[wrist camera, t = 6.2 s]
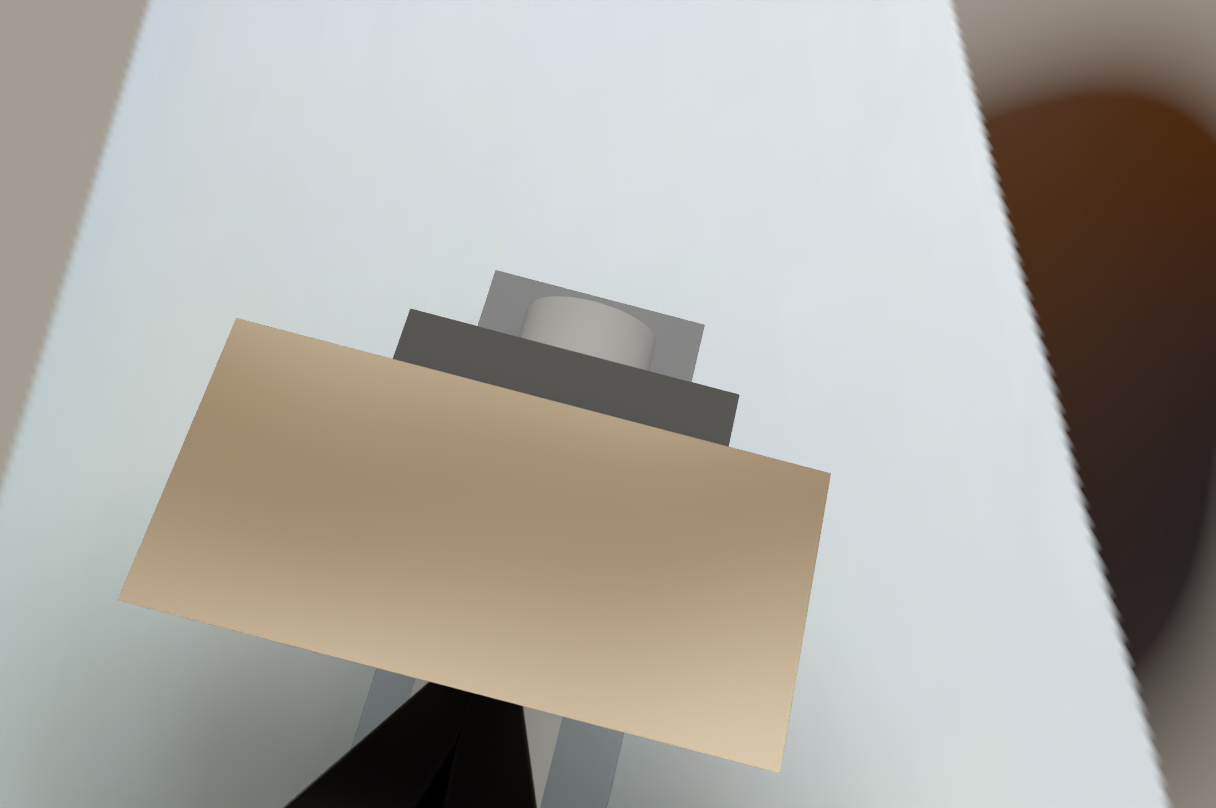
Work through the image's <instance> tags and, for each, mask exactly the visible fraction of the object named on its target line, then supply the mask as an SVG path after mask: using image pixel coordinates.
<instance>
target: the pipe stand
mask: <svg viewBox="0 0 1216 808" xmlns="http://www.w3.org/2000/svg"><path fill="white" fill-rule="evenodd" d="M478 326H479V327H483V328H486V329H490V330H494V331H498V332H502V333H505V334H509V335H513V336H517V337H521V338H525V339H528V340H532V341H536V342H540V343H544V344H548V345H551V346H555V347H559V348H563V349H567V350H570V351H574V352H578V353H582V354H586V355H590V356H593V357H597V358H601V359H605V360H609V361H613V362H616V363H620V364H624V365H628V366H632V367H635V368H639V369H643V370H647V371H651V372H655V373H658V374H662V375H666V376H670V377H674V378H678V379H681V380H685V381H689V382H692V377H693V373H694V369H695V364H696V360H697V356H698V351H699V347H700V343H701V338H702V334H703V330H704V325H703V324H699V323H696V322H692V321H688V320H684V319H680V318H676V317H673V316H669V315H665V314H661V313H657V312H654V311H650V310H646V309H642V308H638V307H634V306H631V305H627V304H623V303H619V302H615V301H611V300H608V299H604V298H600V297H596V296H592V295H589V294H585V293H581V292H577V291H573V290H569V289H566V288H562V287H558V286H554V285H550V284H547V283H543V282H539V281H535V280H531V279H527V278H524V277H520V276H516V275H512V274H508V273H504V272H501V271H497V270H496V271H495V274H494V277H493V280H492V283H491V286H490V289H489V292H488V295H487V299H486V302H485V305H484V308H483V311H482V314H481V317H480V320H479V323H478ZM428 682H429V681H426V680H422V679H418V678H414V677H410V676H407V675H403V674H399V673H395V672H391V671H387V670H384V669H380V668H377V669H376V672H375V675H374V678H373V681H372V684H371V687H370V691H369V694H368V697H367V700H366V703H365V706H364V709H363V713H362V716H361V719H360V722H359V725H358V728H357V731H356V734H355V738H354V741H353V744H352V747H351V748H353V747H354V746H355V745H356V744H357V743H358V742H360V741H361V740H362V739H363V738H364V737H365V736H367V735H368V734H369V733H370V732H371V731H372V730H373V729H375V728H376V727H377V726H378V725H379V724H380V723H382V722H383V721H384V720H385V719H386V718H387V717H388V716H390V715H391V714H392V713H393V712H394V711H395V710H397V709H398V708H399V707H400V706H401V705H402V704H403V703H405V702H406V701H407V700H408V699H409V698H410V697H412V696H413V695H414V694H415V693H416V692H417V691H419V690H420V689H421V688H422V687H423V686H424V685H425V684H427V683H428ZM523 707H524V715H525V722H526V729H527V736H528V744H529V751H530V758H531V766H532V773H533V780H534V787H535V795H536V802H537V808H607V805H608V801H609V796H610V792H611V787H612V783H613V778H614V774H615V770H616V765H617V761H618V756H619V752H620V748H621V743H622V739H623V734H624V732H621V731H617V730H613V729H609V728H606V727H602V726H598V725H594V724H590V723H586V722H583V721H579V720H575V719H571V718H567V717H563V716H560V715H556V714H552V713H548V712H544V711H540V710H537V709H533V708H529V707H525V706H523Z"/></svg>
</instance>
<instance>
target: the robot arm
mask: <svg viewBox="0 0 1216 808" xmlns="http://www.w3.org/2000/svg"><path fill="white" fill-rule="evenodd" d="M283 808H537V802H536V795H535V787H534V780H533V773H532V766H531V758H530V751H529V744H528V736H527V729H526V722H525V715H524V707H523V706H521V705H517V704H514V703H510V702H506V701H502V700H498V699H495V698H491V697H487V696H483V695H479V694H475V693H472V692H468V691H464V690H460V689H456V688H452V687H449V686H445V685H441V684H437V683H433V682H428V683H427V684H425V685H424V686H423V687H422V688H421V689H420V690H419V691H417V692H416V693H415V694H414V695H413V696H412V697H410V698H409V699H408V700H407V701H406V702H405V703H403V704H402V705H401V706H400V707H399V708H398V709H397V710H395V711H394V712H393V713H392V714H391V715H390V716H388V717H387V718H386V719H385V720H384V721H383V722H382V723H380V724H379V725H378V726H377V727H376V728H375V729H373V730H372V731H371V732H370V733H369V734H368V735H367V736H365V737H364V738H363V739H362V740H361V741H360V742H358V743H357V744H356V745H355V746H354V747H353V748H351V749H350V750H349V751H348V752H347V753H346V754H345V755H343V756H342V757H341V758H340V759H339V760H338V761H336V762H335V763H334V764H333V765H332V766H331V767H330V768H328V769H327V770H326V771H325V772H324V773H323V774H321V775H320V776H319V777H318V778H317V779H316V780H315V781H313V782H312V783H311V784H310V785H309V786H308V787H306V788H305V789H304V790H303V791H302V792H301V793H300V794H298V795H297V796H296V797H295V798H294V799H293V800H291V801H290V802H289V803H288V804H287V805H286V806H284V807H283Z"/></svg>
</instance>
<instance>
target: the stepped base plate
mask: <svg viewBox="0 0 1216 808" xmlns="http://www.w3.org/2000/svg"><path fill="white" fill-rule="evenodd" d="M393 359H395V360H399V361H402V362H406V363H410V364H414V365H418V366H422V367H425V368H429V369H433V370H437V371H441V372H445V373H448V374H452V375H456V376H460V377H464V378H467V379H471V380H475V381H479V382H483V383H487V384H490V385H494V386H498V387H502V388H506V389H510V390H513V391H517V392H521V393H525V394H529V395H532V396H536V397H540V398H544V399H548V400H552V401H555V402H559V403H563V404H567V405H571V406H575V407H578V408H582V409H586V410H590V411H594V412H597V413H601V414H605V415H609V416H613V417H617V418H620V419H624V420H628V421H632V422H636V423H640V424H643V425H647V426H651V427H655V428H659V429H662V430H666V431H670V432H674V433H678V434H682V435H685V436H689V437H693V438H697V439H701V440H705V441H708V442H712V443H716V444H720V445H724V446H727V447H729V442H730V437H731V432H732V428H733V423H734V418H735V413H736V409H737V404H738V399H739V394H735V393H731V392H727V391H723V390H720V389H716V388H712V387H708V386H704V385H700V384H697V383H693V382H689V381H685V380H681V379H678V378H674V377H670V376H666V375H662V374H658V373H655V372H651V371H647V370H643V369H639V368H635V367H632V366H628V365H624V364H620V363H616V362H613V361H609V360H605V359H601V358H597V357H593V356H590V355H586V354H582V353H578V352H574V351H570V350H567V349H563V348H559V347H555V346H551V345H548V344H544V343H540V342H536V341H532V340H528V339H525V338H521V337H517V336H513V335H509V334H505V333H502V332H498V331H494V330H490V329H486V328H483V327H479V326H475V325H471V324H467V323H463V322H460V321H456V320H452V319H448V318H444V317H440V316H437V315H433V314H429V313H425V312H421V311H418V310H414V309H410V311H409V314H408V317H407V320H406V323H405V326H404V328H403V331H402V334H401V337H400V340H399V343H398V345H397V348H396V351H395V354H394V357H393Z"/></svg>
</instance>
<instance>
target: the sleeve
mask: <svg viewBox="0 0 1216 808" xmlns="http://www.w3.org/2000/svg"><path fill="white" fill-rule="evenodd" d="M830 475H831V473H827V472H823V471H819V470H815V469H812V468H808V467H804V466H800V465H796V464H792V463H789V462H785V461H781V460H777V459H773V458H770V457H766V456H762V455H758V454H754V453H750V452H747V451H743V450H739V449H735V448H731V447H727V446H724V445H720V444H716V443H712V442H708V441H705V440H701V439H697V438H693V437H689V436H685V435H682V434H678V433H674V432H670V431H666V430H662V429H659V428H655V427H651V426H647V425H643V424H640V423H636V422H632V421H628V420H624V419H620V418H617V417H613V416H609V415H605V414H601V413H597V412H594V411H590V410H586V409H582V408H578V407H575V406H571V405H567V404H563V403H559V402H555V401H552V400H548V399H544V398H540V397H536V396H532V395H529V394H525V393H521V392H517V391H513V390H510V389H506V388H502V387H498V386H494V385H490V384H487V383H483V382H479V381H475V380H471V379H467V378H464V377H460V376H456V375H452V374H448V373H445V372H441V371H437V370H433V369H429V368H425V367H422V366H418V365H414V364H410V363H406V362H402V361H399V360H395V359H391V358H387V357H383V356H380V355H376V354H372V353H368V352H364V351H360V350H357V349H353V348H349V347H345V346H341V345H337V344H334V343H330V342H326V341H322V340H318V339H315V338H311V337H307V336H303V335H299V334H295V333H292V332H288V331H284V330H280V329H276V328H272V327H269V326H265V325H261V324H257V323H253V322H250V321H246V320H242V319H238V318H236V320H235V322H234V325H233V327H232V329H231V332H230V334H229V337H228V339H227V341H226V344H225V346H224V348H223V351H222V353H221V356H220V358H219V360H218V363H217V365H216V367H215V370H214V372H213V375H212V377H211V379H210V382H209V384H208V386H207V389H206V391H205V394H204V396H203V398H202V401H201V403H200V405H199V408H198V410H197V412H196V415H195V417H194V420H193V422H192V424H191V427H190V429H189V431H188V434H187V436H186V439H185V441H184V443H183V446H182V448H181V450H180V453H179V455H178V458H177V460H176V462H175V465H174V467H173V469H172V472H171V474H170V477H169V479H168V481H167V484H166V486H165V488H164V491H163V493H162V495H161V498H160V500H159V503H158V505H157V507H156V510H155V512H154V514H153V517H152V519H151V522H150V524H149V526H148V529H147V531H146V533H145V536H144V538H143V541H142V543H141V545H140V548H139V550H138V552H137V555H136V557H135V560H134V562H133V564H132V567H131V569H130V571H129V574H128V576H127V579H126V581H125V583H124V586H123V588H122V590H121V593H120V595H119V597H118V600H119V601H123V602H127V603H131V604H135V605H139V606H142V607H146V608H150V609H154V610H158V611H162V612H165V613H169V614H173V615H177V616H181V617H185V618H188V619H192V620H196V621H200V622H204V623H208V624H211V625H215V626H219V627H223V628H227V629H230V630H234V631H238V632H242V633H246V634H250V635H253V636H257V637H261V638H265V639H269V640H273V641H276V642H280V643H284V644H288V645H292V646H296V647H299V648H303V649H307V650H311V651H315V652H318V653H322V654H326V655H330V656H334V657H338V658H341V659H345V660H349V661H353V662H357V663H361V664H364V665H368V666H372V667H376V668H380V669H384V670H387V671H391V672H395V673H399V674H403V675H407V676H410V677H414V678H418V679H422V680H426V681H429V682H433V683H437V684H441V685H445V686H449V687H452V688H456V689H460V690H464V691H468V692H472V693H475V694H479V695H483V696H487V697H491V698H495V699H498V700H502V701H506V702H510V703H514V704H517V705H521V706H525V707H529V708H533V709H537V710H540V711H544V712H548V713H552V714H556V715H560V716H563V717H567V718H571V719H575V720H579V721H583V722H586V723H590V724H594V725H598V726H602V727H606V728H609V729H613V730H617V731H621V732H625V733H628V734H632V735H636V736H640V737H644V738H648V739H651V740H655V741H659V742H663V743H667V744H671V745H674V746H678V747H682V748H686V749H690V750H694V751H697V752H701V753H705V754H709V755H713V756H716V757H720V758H724V759H728V760H732V761H736V762H739V763H743V764H747V765H751V766H755V767H759V768H762V769H766V770H770V771H774V772H778V773H780V770H781V764H782V758H783V753H784V747H785V741H786V735H787V729H788V723H789V717H790V711H791V705H792V699H793V694H794V688H795V682H796V676H797V670H798V664H799V658H800V652H801V646H802V640H803V634H804V629H805V623H806V617H807V611H808V605H809V599H810V593H811V587H812V581H813V575H814V569H815V564H816V558H817V552H818V546H819V540H820V534H821V528H822V522H823V516H824V510H825V504H826V499H827V493H828V487H829V481H830Z"/></svg>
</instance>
